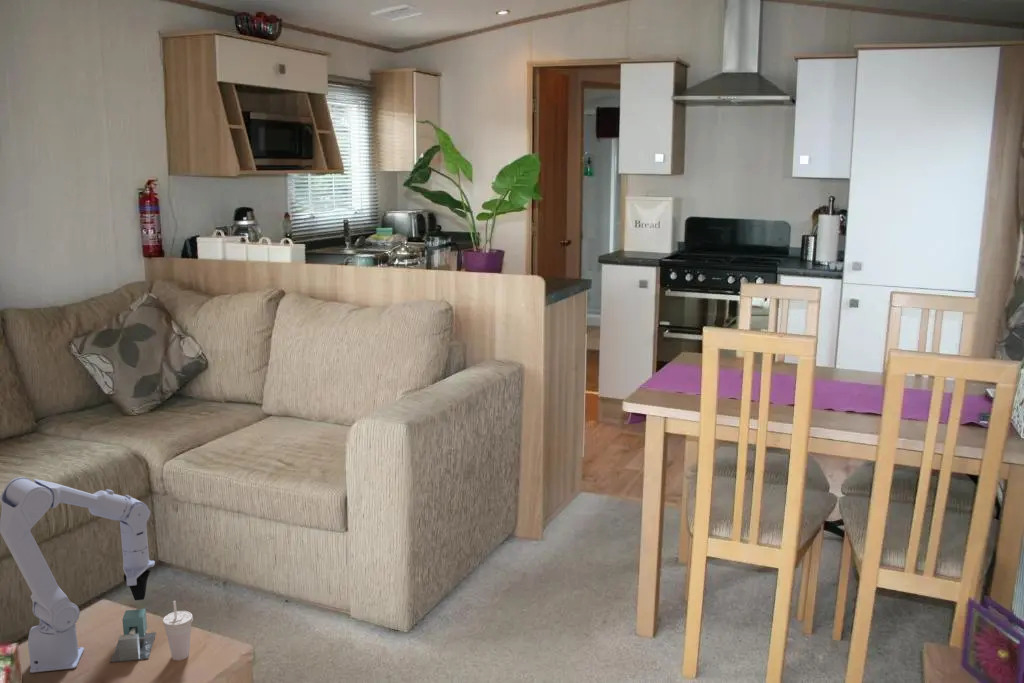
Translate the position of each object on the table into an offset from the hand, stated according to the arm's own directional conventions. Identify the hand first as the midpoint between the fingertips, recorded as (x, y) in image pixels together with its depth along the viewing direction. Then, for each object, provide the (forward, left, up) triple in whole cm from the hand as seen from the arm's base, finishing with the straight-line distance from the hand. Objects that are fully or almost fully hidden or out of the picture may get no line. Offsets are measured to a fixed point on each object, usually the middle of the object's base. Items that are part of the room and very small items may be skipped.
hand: (139, 598), depth 215 cm
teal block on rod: (0, -7, -5) cm, 9 cm away
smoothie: (+11, -16, -7) cm, 20 cm away
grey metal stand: (0, -11, -7) cm, 13 cm away
